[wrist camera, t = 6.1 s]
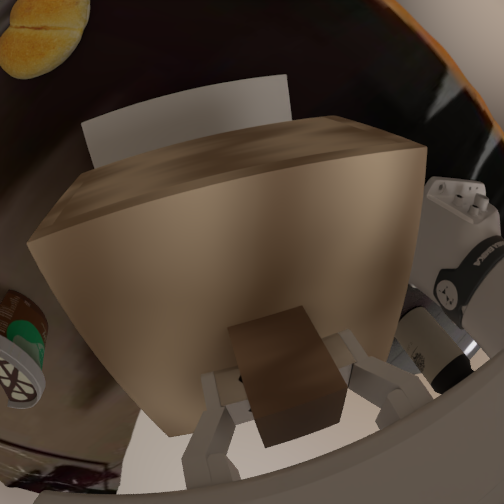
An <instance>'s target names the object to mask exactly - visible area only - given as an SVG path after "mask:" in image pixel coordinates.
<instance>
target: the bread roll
mask: <svg viewBox="0 0 504 504" xmlns="http://www.w3.org/2000/svg"><path fill="white" fill-rule="evenodd" d="M89 14H90V0H17V2H16V3H15V5H14V6H13V8H12V11H11V14H10V27H9V28H8V29H7V30H6V31H5V32H4V33H3V35H2V36H1V37H0V66H1V67H2V69H4V70H5V71H6V72H7V73H8V74H9V75H11V76H12V77H15V78H18V79H30V78H34V77H37V76H40V75H43V74H45V73H48V72H50V71H52V70H53V69H55V68H56V67H58V66H59V65H60V64H62V63H63V62H64V61H65V60H66V59H67V58H68V57H69V56H70V55H71V53H72V52H73V51H74V50H75V48H76V47H77V45H78V43H79V42H80V40H81V37H82V34H83V30H84V29H85V27H86V25H87V22H88V19H89Z"/></svg>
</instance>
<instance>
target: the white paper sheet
mask: <svg viewBox="0 0 504 504" xmlns="http://www.w3.org/2000/svg"><path fill="white" fill-rule="evenodd" d="M286 121H292V117H291V108H290V100H289V92H288V84H287V76H286V74H283V75H274V76H265V77H257V78H250V79H243V80H237V81H231V82H225V83H219V84H214V85H209V86H204V87H199V88H195V89H190V90H186V91H181V92H177V93H173V94H169V95H165V96H162V97H158V98H154V99H151V100H147V101H144V102H140V103H137V104H134V105H131V106H127V107H124V108H121V109H118V110H115V111H112V112H109V113H107V114H104V115H101V116H98V117H96V118H93V119H90V120H88V121H85V122H83V123H81V125H82V129H83V132H84V136H85V139H86V143H87V146H88V149H89V153H90V156H91V159H92V162H93V165H94V169H96V168H98V167H101V166H104V165H107V164H110V163H113V162H116V161H119V160H122V159H125V158H129V157H132V156H135V155H138V154H142V153H145V152H148V151H152V150H155V149H159V148H162V147H166V146H170V145H173V144H177V143H181V142H185V141H189V140H193V139H197V138H202V137H206V136H210V135H215V134H219V133H224V132H229V131H234V130H239V129H244V128H249V127H255V126H261V125H266V124H273V123H279V122H286Z"/></svg>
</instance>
